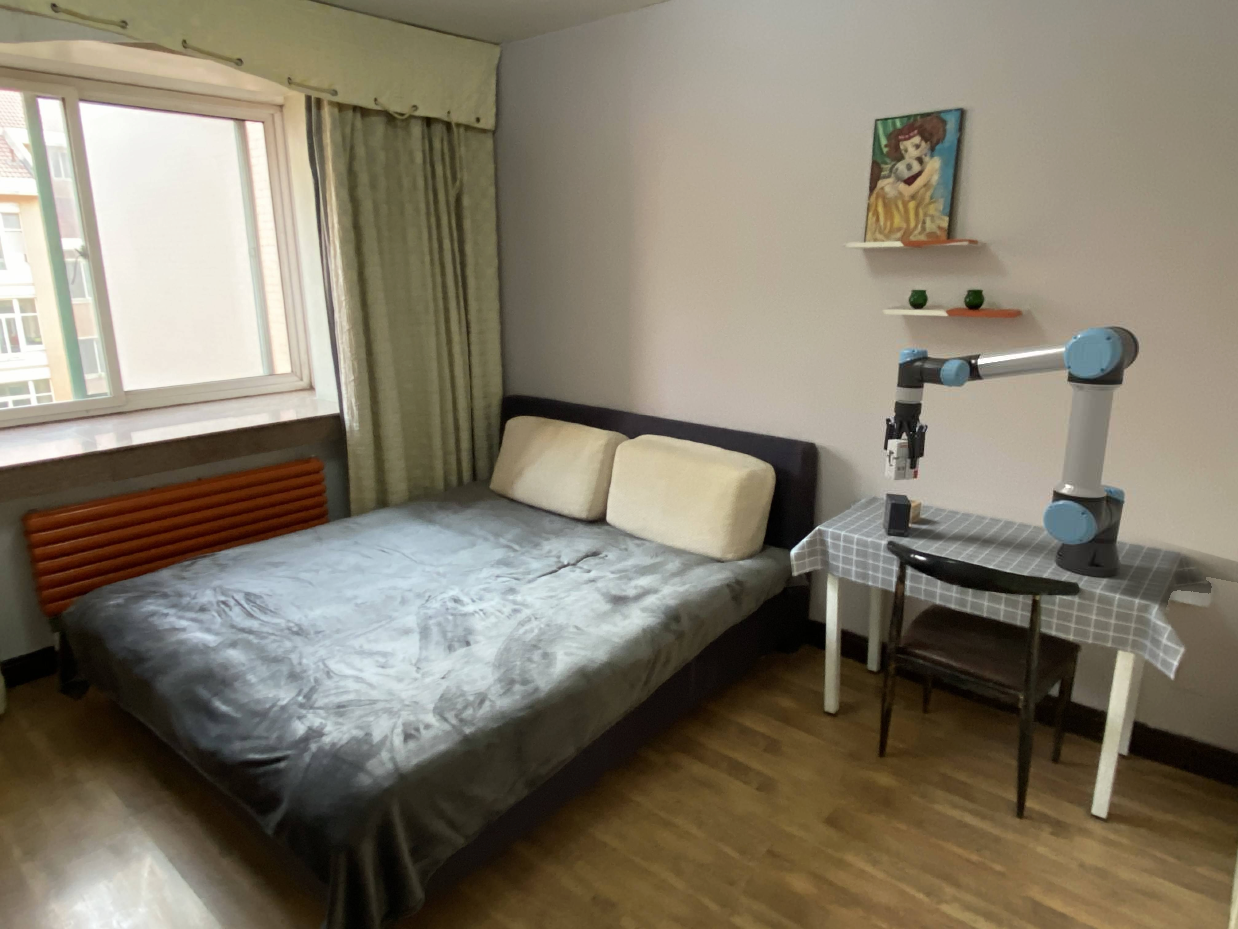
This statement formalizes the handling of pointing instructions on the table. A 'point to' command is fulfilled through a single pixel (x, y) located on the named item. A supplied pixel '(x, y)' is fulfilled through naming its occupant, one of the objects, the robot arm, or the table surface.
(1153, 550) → the table surface
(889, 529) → the small box
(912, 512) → the oak cube
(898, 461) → the ink box
